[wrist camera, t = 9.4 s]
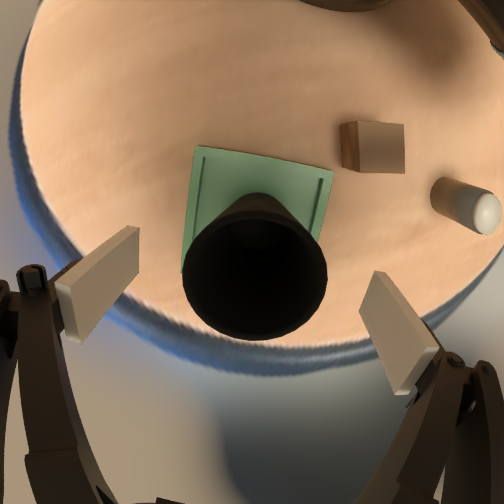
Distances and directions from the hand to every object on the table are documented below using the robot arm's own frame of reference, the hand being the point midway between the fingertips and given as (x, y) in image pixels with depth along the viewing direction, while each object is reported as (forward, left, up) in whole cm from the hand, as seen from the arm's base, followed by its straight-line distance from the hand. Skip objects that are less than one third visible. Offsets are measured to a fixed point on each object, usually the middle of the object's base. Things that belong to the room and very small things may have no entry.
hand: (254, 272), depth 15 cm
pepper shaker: (-7, +19, -12) cm, 24 cm away
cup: (0, 0, -12) cm, 12 cm away
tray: (0, 0, -12) cm, 12 cm away
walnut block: (-9, +8, -12) cm, 17 cm away
